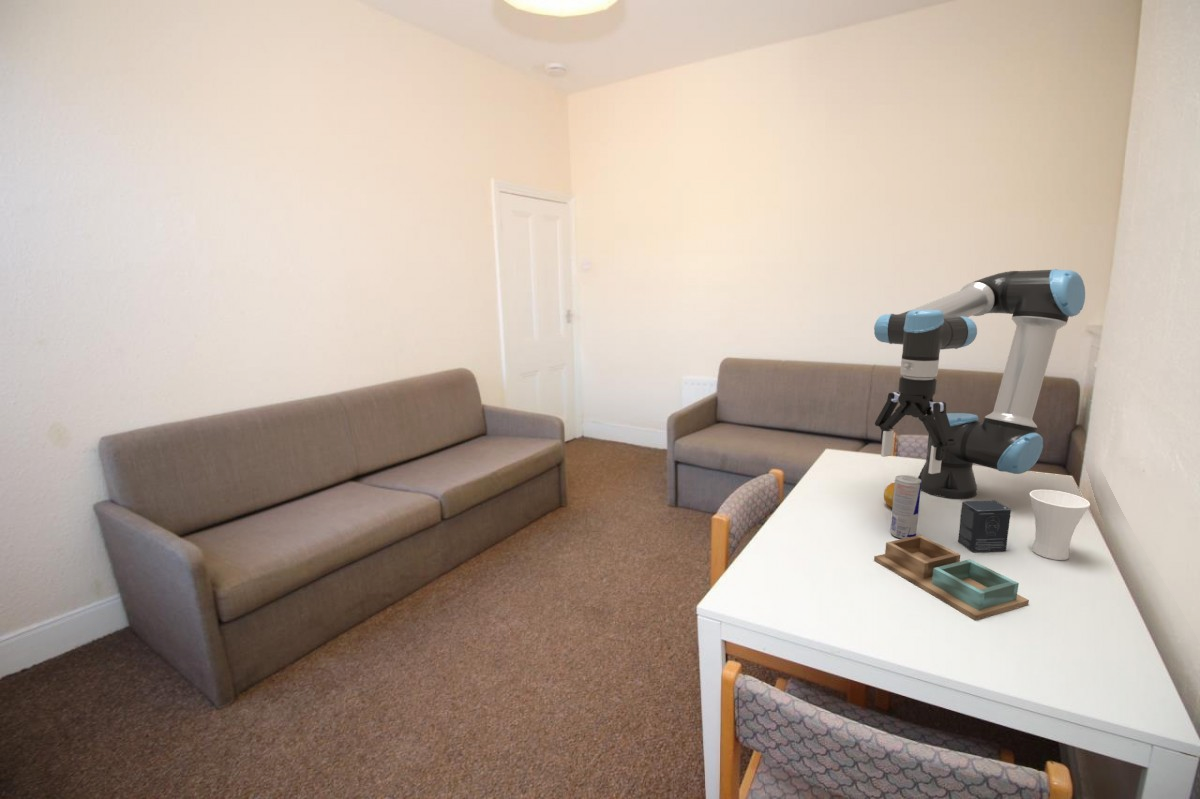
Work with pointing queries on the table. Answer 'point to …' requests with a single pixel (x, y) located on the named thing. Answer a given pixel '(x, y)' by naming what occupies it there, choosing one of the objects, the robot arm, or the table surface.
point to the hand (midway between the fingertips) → (909, 464)
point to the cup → (1055, 521)
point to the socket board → (951, 577)
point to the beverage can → (905, 506)
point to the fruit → (889, 494)
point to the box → (984, 526)
